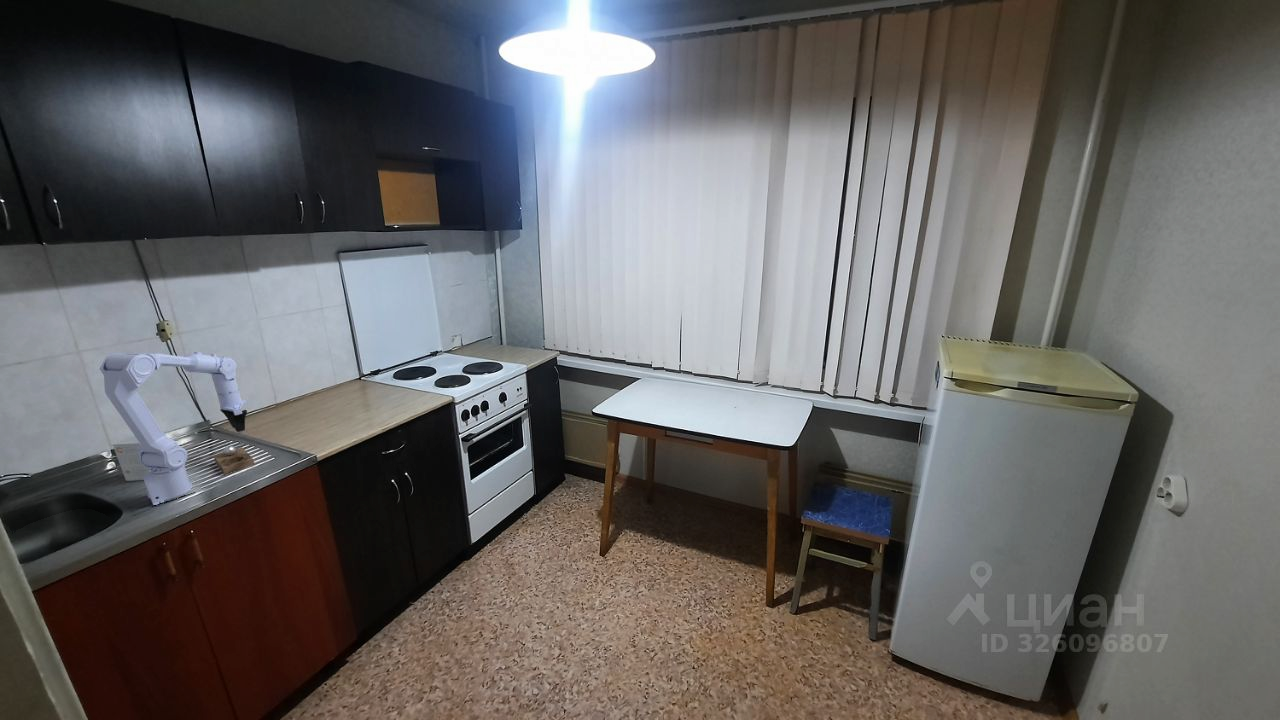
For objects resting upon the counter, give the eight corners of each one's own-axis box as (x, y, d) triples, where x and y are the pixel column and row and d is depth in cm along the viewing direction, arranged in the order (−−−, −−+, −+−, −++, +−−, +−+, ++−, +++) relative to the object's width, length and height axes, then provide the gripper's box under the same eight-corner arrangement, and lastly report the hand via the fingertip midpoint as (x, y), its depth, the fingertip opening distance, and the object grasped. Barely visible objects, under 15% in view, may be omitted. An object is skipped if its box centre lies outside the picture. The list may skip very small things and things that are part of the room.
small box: (169, 469, 164) (156, 433, 160) (152, 480, 158) (139, 443, 154) (142, 471, 163) (129, 435, 159) (125, 481, 157) (111, 444, 153)
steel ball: (226, 457, 166) (223, 449, 165) (223, 455, 167) (221, 446, 167) (237, 454, 168) (235, 445, 167) (235, 451, 170) (232, 443, 169)
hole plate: (224, 475, 160) (222, 468, 159) (215, 462, 168) (213, 456, 167) (254, 465, 165) (253, 458, 165) (244, 453, 173) (242, 447, 173)
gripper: (248, 392, 163) (259, 430, 167) (237, 383, 172) (247, 419, 176) (221, 399, 158) (233, 438, 162) (211, 389, 167) (222, 426, 171)
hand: (238, 428), depth 168 cm, fingers open, 5 cm apart
